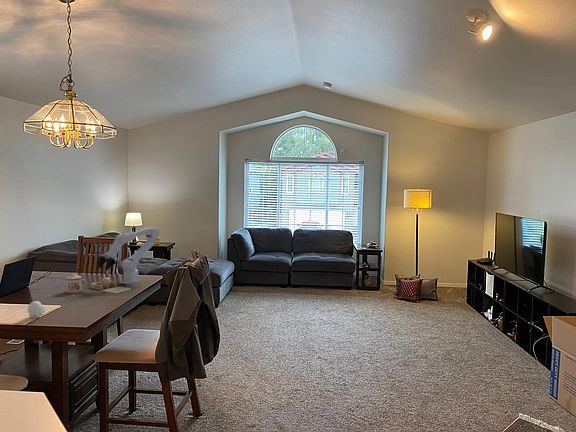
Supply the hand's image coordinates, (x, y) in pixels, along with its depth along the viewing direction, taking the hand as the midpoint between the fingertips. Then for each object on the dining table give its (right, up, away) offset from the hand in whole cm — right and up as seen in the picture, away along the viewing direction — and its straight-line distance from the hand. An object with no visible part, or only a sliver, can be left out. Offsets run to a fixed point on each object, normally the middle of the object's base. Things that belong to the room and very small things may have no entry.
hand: (102, 268), depth 298 cm
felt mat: (+11, -14, -4) cm, 18 cm away
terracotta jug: (+1, -13, +4) cm, 14 cm away
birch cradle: (-1, -13, +4) cm, 14 cm away
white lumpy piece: (-10, -18, -59) cm, 63 cm away
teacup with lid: (-13, -14, -7) cm, 21 cm away
